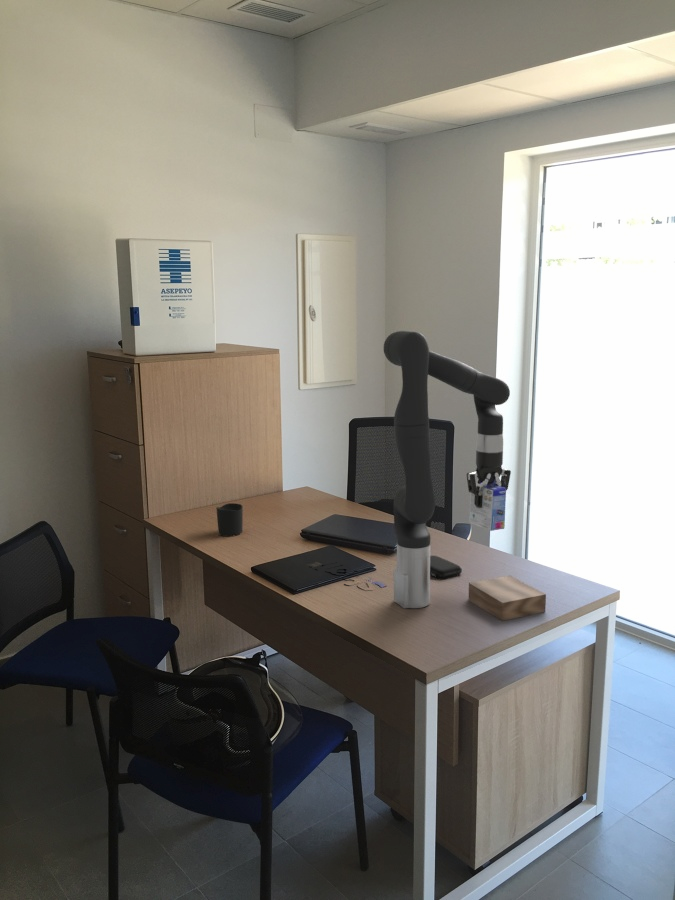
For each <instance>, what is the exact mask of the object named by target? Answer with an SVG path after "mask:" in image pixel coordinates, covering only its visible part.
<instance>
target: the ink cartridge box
mask: <svg viewBox="0 0 675 900" xmlns="http://www.w3.org/2000/svg"><path fill="white" fill-rule="evenodd" d="M495 482H496V480H494V482H493V483H492V484H488V485H486V488H485V489H484V490H483V493H482V508H478V507H476V505H475V504H474V502H475V495H474V494H473V493H470V492H469V493H470V495H469V513H468V514H469V517H468V519H469V520H468V523H469V524H470V525H474V526H476V527H479V528H482V529H485V530H487V531H491V532H493V531H497V530H504V529H505V520H506V504H507V503H506V501H507V500H506V498H507V490H506V488H505V487H501V486H496V485H494V484H495ZM481 484H482V483H481ZM479 488H480V487H479Z"/></svg>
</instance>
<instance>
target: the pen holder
mask: <svg viewBox="0 0 675 900" xmlns="http://www.w3.org/2000/svg"><path fill="white" fill-rule="evenodd" d="M243 509H244V508H243V505H242V504H240V503H235V502H234V503H231V502H230V503H226V504H223V505H221V506H220V507H218V506H217V507H216V517H217V518H216V519H217V531H218V534H219V535H220V534H221V535H220V536H222V535H224V536H223V537H234V536H233V535H236V536H239V535H241V534H242V533H243V511H244V510H243ZM240 533H241V534H240ZM238 534H239V535H238Z"/></svg>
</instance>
